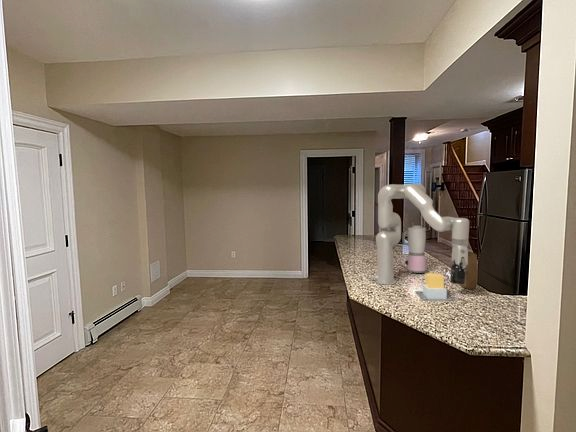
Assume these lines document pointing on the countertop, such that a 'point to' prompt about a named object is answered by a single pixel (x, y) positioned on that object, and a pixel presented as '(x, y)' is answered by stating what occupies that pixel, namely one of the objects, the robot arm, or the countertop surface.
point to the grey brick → (434, 292)
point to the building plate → (424, 298)
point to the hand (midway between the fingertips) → (457, 276)
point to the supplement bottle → (454, 274)
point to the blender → (415, 249)
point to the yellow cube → (434, 280)
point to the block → (471, 272)
